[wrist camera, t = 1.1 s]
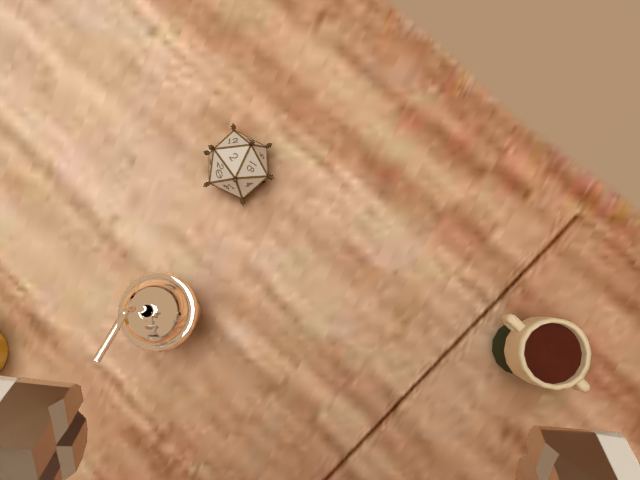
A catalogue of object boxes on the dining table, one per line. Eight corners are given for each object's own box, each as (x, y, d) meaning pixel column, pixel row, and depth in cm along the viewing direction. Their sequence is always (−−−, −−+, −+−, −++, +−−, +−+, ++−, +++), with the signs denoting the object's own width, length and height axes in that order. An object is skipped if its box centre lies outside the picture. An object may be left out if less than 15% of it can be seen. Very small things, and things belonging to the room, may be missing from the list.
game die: (255, 192, 78) (250, 228, 70) (196, 163, 76) (183, 196, 67) (287, 135, 75) (286, 166, 66) (226, 103, 72) (216, 130, 64)
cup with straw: (230, 320, 73) (188, 320, 53) (170, 364, 72) (105, 381, 52) (191, 264, 74) (136, 244, 54) (132, 307, 73) (54, 303, 53)
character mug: (571, 358, 71) (622, 366, 58) (531, 401, 70) (574, 420, 57) (502, 294, 72) (537, 288, 59) (463, 337, 71) (489, 340, 58)
